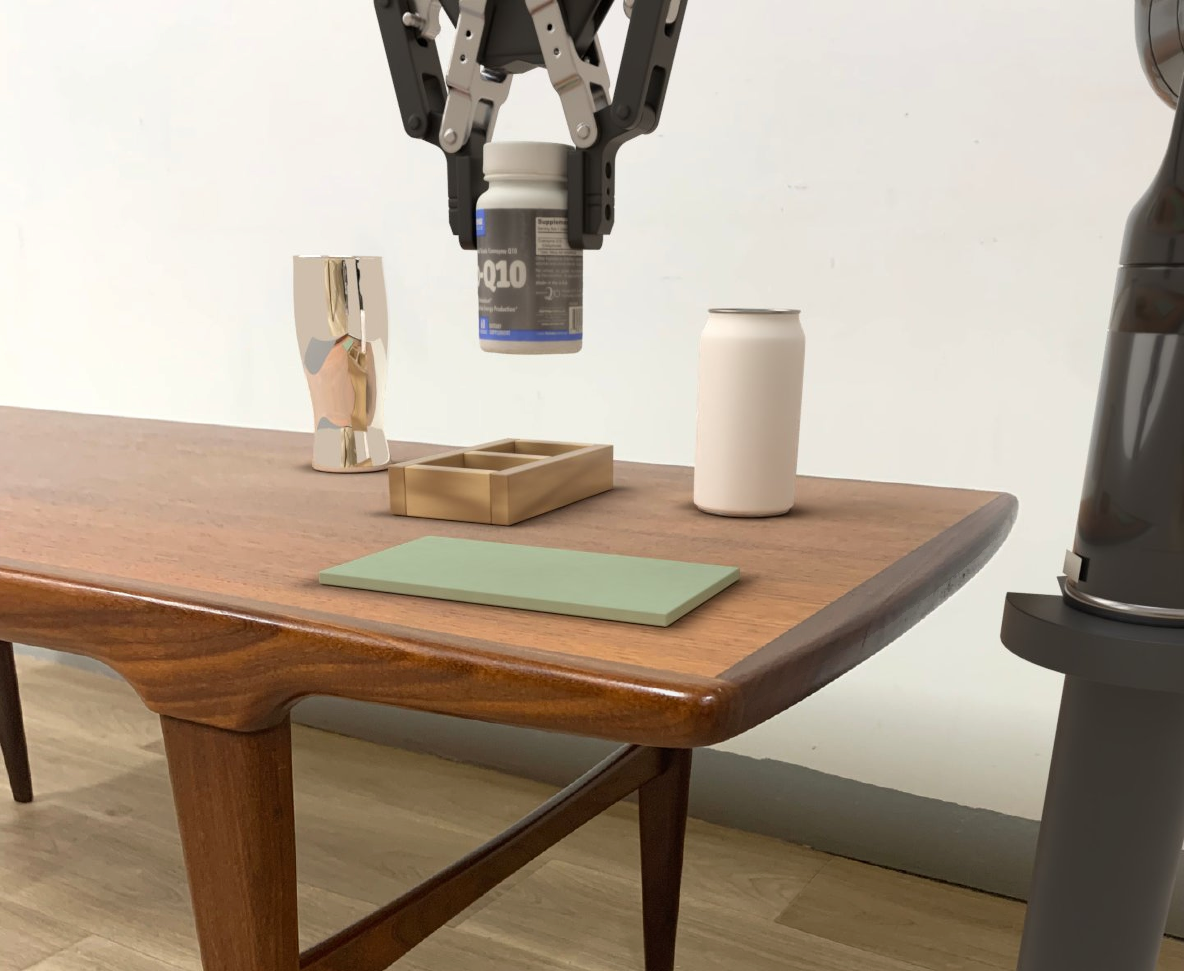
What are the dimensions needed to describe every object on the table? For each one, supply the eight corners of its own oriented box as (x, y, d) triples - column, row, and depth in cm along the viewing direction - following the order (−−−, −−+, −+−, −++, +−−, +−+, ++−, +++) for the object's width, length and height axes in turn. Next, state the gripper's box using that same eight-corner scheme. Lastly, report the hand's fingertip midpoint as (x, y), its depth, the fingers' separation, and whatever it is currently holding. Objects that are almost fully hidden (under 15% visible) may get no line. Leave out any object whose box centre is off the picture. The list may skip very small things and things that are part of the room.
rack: (613, 488, 86) (613, 444, 85) (508, 526, 73) (508, 474, 72) (508, 480, 89) (507, 437, 88) (390, 514, 76) (387, 465, 75)
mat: (739, 579, 60) (740, 567, 60) (666, 627, 52) (667, 613, 52) (428, 546, 67) (427, 535, 67) (318, 583, 59) (318, 571, 59)
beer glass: (344, 458, 99) (330, 256, 93) (415, 464, 96) (405, 257, 90) (287, 469, 93) (268, 255, 87) (360, 476, 90) (346, 255, 84)
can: (683, 515, 77) (691, 310, 72) (703, 498, 82) (711, 307, 78) (786, 521, 75) (801, 311, 70) (799, 503, 81) (813, 309, 76)
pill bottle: (458, 351, 56) (451, 144, 52) (539, 348, 59) (537, 152, 55) (521, 356, 52) (518, 136, 49) (604, 353, 55) (606, 144, 52)
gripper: (731, -224, 48) (711, 251, 54) (418, -176, 53) (435, 251, 60) (660, -301, 41) (648, 248, 48) (314, -237, 47) (345, 248, 53)
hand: (530, 247), depth 54 cm, fingers closed on pill bottle, 4 cm apart
